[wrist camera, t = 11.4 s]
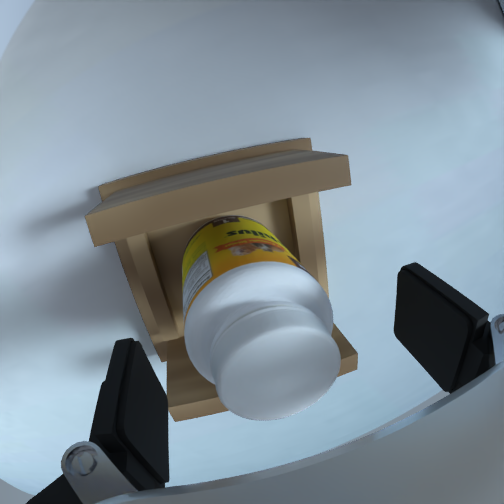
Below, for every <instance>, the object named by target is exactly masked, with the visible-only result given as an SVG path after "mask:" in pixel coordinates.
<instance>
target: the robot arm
mask: <svg viewBox="0 0 504 504" xmlns="http://www.w3.org/2000/svg"><path fill="white" fill-rule="evenodd" d="M499 3H500V5H501V8H502V10H503V13H504V0H499ZM488 316H489V314H488V313H487V312H486V311H484V310H483V309H482V308H480V307H479V306H478V305H476V304H475V303H474V302H472V301H471V300H470V299H468V298H467V297H465V296H464V295H463V294H461V293H460V292H459V291H457V290H456V289H454V288H453V287H452V286H450V285H449V284H447V283H446V282H444V281H443V280H442V279H440V278H439V277H437V276H436V275H434V274H433V273H431V272H430V271H428V270H427V269H425V268H424V267H423V266H421V265H420V264H418V263H416V262H415V263H411V264H408V265H405V266H403V267H401V270H400V272H398V277H397V295H396V310H395V321H394V334H395V336H396V338H397V339H398V340H399V341H400V342H401V343H402V344H403V346H404V347H405V348H406V349H407V350H408V351H409V352H410V353H411V354H412V355H413V357H414V358H415V359H416V360H417V361H418V362H419V363H420V364H421V365H422V367H423V368H424V369H425V370H426V371H427V372H428V373H429V374H430V376H431V377H432V378H433V379H434V380H435V381H436V382H437V384H438V385H439V386H440V387H441V388H442V389H443V390H444V391H445V392H449V393H450V395H448V396H446V397H444V398H443V399H441V400H439V401H437V402H436V403H434V404H432V405H430V406H428V407H427V408H425V409H423V410H421V411H419V412H417V413H415V414H413V415H411V416H409V417H407V418H405V419H403V420H401V421H399V422H397V423H395V424H393V425H390V426H388V427H386V428H384V429H382V430H380V431H377V432H375V433H373V434H370V435H368V436H365V437H363V438H361V439H358V440H356V441H353V442H351V443H348V444H345V445H343V446H340V447H337V448H335V449H332V450H329V451H326V452H323V453H320V454H317V455H314V456H311V457H308V458H305V459H302V460H299V461H295V462H292V463H288V464H285V465H281V466H278V467H274V468H270V469H266V470H262V471H258V472H254V473H249V474H245V475H240V476H235V477H230V478H225V479H219V480H214V481H208V482H202V483H196V484H189V485H182V486H173V487H166V488H165V483H166V482H169V451H168V399H167V395H166V393H165V391H164V389H163V388H162V386H161V384H160V382H159V380H158V378H157V376H156V374H155V372H154V370H153V368H152V366H151V364H150V362H149V360H148V358H147V356H146V354H145V352H144V350H143V348H142V345H141V344H140V342H139V341H134V339H133V338H127V339H122V340H117V341H116V342H115V345H114V349H113V352H112V356H111V360H110V364H109V368H108V371H107V375H106V380H105V381H104V382H102V385H101V388H100V392H99V396H98V401H97V405H96V409H95V414H94V418H93V423H92V428H91V433H90V438H89V442H87V441H83V442H78V443H76V444H74V445H72V446H71V447H70V448H68V449H67V450H66V452H65V453H64V455H63V457H62V460H61V468H62V471H63V474H62V475H61V476H60V477H59V478H57V479H56V480H55V481H54V482H52V483H51V484H50V485H48V486H47V487H46V488H45V489H43V490H42V491H41V492H39V493H38V494H37V495H36V496H34V497H33V498H32V499H30V500H29V501H28V502H27V503H26V504H504V314H500V315H497V316H495V317H494V318H493V319H492V321H491V323H490V322H489V321H488Z"/></svg>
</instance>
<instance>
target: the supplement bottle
mask: <svg viewBox="0 0 504 504" xmlns="http://www.w3.org/2000/svg"><path fill="white" fill-rule="evenodd" d="M182 291H183V319H184V338H185V344H186V349H187V352H188V355H189V358H190V360H191V362H192V363H193V365H194V367H195V368H196V369H197V370H198V372H199V373H200V374H201V375H202V376H203V377H204V378H206V379H207V380H208V381H210V382H211V383H213V384H215V386H216V391H217V394H218V397H219V399H220V401H221V402H222V403H223V405H224V406H225V407H226V408H227V409H228V410H229V411H231V412H232V413H234V414H236V415H238V416H241V417H243V418H247V419H251V420H261V421H266V420H276V419H281V418H285V417H289V416H292V415H294V414H297V413H299V412H301V411H303V410H305V409H307V408H308V407H310V406H312V405H313V404H314V403H316V402H317V401H318V400H319V399H320V398H322V397H323V396H324V395H325V394H326V393H327V391H328V390H329V389H330V388H331V386H332V385H333V383H334V381H335V380H336V378H337V375H338V373H339V369H340V361H341V357H340V352H339V348H338V346H337V344H336V342H335V341H334V339H333V338H332V337H331V334H332V329H333V311H332V307H331V303H330V300H329V298H328V296H327V294H326V292H325V291H324V289H323V288H322V287H321V285H320V284H319V283H318V282H317V280H316V279H315V278H314V277H313V276H312V275H311V274H310V273H309V272H308V271H307V270H306V269H305V268H304V267H303V265H302V264H301V263H300V262H299V261H298V260H297V259H296V258H295V257H294V256H293V255H292V254H291V253H290V252H289V251H288V250H287V248H286V247H285V246H284V245H283V244H282V243H281V242H280V241H279V240H278V239H277V238H276V237H275V236H274V235H273V234H272V233H271V232H270V231H269V230H268V229H267V228H266V227H265V226H264V225H262V224H261V223H260V222H258V221H256V220H254V219H252V218H249V217H245V216H240V215H227V216H221V217H217V218H214V219H212V220H210V221H208V222H206V223H205V224H203V225H202V226H201V227H199V228H198V229H197V230H196V231H195V232H194V234H193V235H192V236H191V238H190V239H189V241H188V243H187V245H186V247H185V250H184V254H183V259H182Z"/></svg>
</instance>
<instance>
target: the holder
mask: <svg viewBox="0 0 504 504" xmlns="http://www.w3.org/2000/svg"><path fill="white" fill-rule="evenodd" d="M349 185H351V177H350V168H349V160H348V155H343V154H336V153H327V152H319V151H312V145H311V139H310V138H300V139H293V140H287V141H281V142H275V143H269V144H264V145H258V146H253V147H248V148H243V149H238V150H233V151H228V152H223V153H218V154H214V155H209V156H205V157H201V158H196V159H192V160H188V161H184V162H180V163H176V164H172V165H168V166H164V167H160V168H157V169H153V170H149V171H146V172H142V173H139V174H135V175H132V176H128V177H125V178H121V179H118V180H115V181H112V182H108V183H105V184H102V185H101V186H99V187H98V188H99V191H100V195H101V199H102V203H100V204H99V205H98V206H97V207H95V208H94V209H93V210H92V211H90V212H89V213H88V214H87V215H86V216H85V219H86V222H87V225H88V228H89V232H90V235H91V238H92V241H93V244H94V247H97V246H100V245H104V244H107V243H111V242H115V245H116V248H117V251H118V254H119V257H120V260H121V263H122V266H123V269H124V271H125V274H126V277H127V280H128V282H129V285H130V288H131V290H132V293H133V296H134V298H135V301H136V303H137V306H138V309H139V311H140V314H141V316H142V318H143V321H144V323H145V326H146V328H147V330H148V333H149V335H150V337H151V340H152V342H153V344H154V347H155V349H156V351H157V353H158V356H159V358H160V360H161V362H165V361H167V399H168V411H169V412H170V414H171V416H172V417H173V419H174V421H175V422H177V421H183V420H188V419H193V418H198V417H202V416H207V415H212V414H216V413H220V412H225V411H229V410H228V409H227V408H226V407H225V406H224V405H223V403H222V402H221V401H220V399H219V397H218V394H217V391H216V386H215V384H213V383H211V382H210V381H208V380H207V379H206V378H204V377H203V376H202V375H201V374H200V373H199V372H198V370H197V369H196V368H195V367H194V365H193V363H192V362H191V360H190V358H189V355H188V352H187V349H186V344H185V338H184V319H183V291H182V259H183V254H184V250H185V247H186V245H187V243H188V241H189V239H190V238H191V236H192V235H193V234H194V232H195V231H196V230H197V229H198V228H199V227H201V226H202V225H203V224H205V223H206V222H208V221H210V220H212V219H214V218H217V217H221V216H227V215H240V216H245V217H249V218H252V219H254V220H256V221H258V222H260V223H261V224H262V225H264V226H265V227H266V228H267V229H268V230H269V231H270V232H271V233H272V234H273V235H274V236H275V237H276V238H277V239H278V240H279V241H280V242H281V243H282V244H283V245H284V246H285V247H286V248H287V250H288V251H289V252H290V253H291V254H292V255H293V256H294V257H295V258H296V259H297V260H298V261H299V262H300V263H301V264H302V265H303V267H304V268H305V269H306V270H307V271H308V272H309V273H310V274H311V275H312V276H313V277H314V278H315V279H316V280H317V282H318V283H319V284H320V285H321V287H322V288H323V289H324V291H325V292H326V294H327V296H328V298H329V292H328V280H327V268H326V257H325V247H324V237H323V228H322V219H321V210H320V202H319V194H318V192H319V191H324V190H329V189H334V188H339V187H344V186H349ZM331 337H332V338H333V339H334V341H335V342H336V344H337V346H338V348H339V352H340V357H341V361H340V369H339V373H338V375H337V377H339V376H341V375H344V374H346V373H349V372H352V371H354V370H357V363H358V353H357V352H356V350H355V349H354V348H353V347H352V345H351V344H350V343H349V342H348V340H347V339H346V338H345V337H344V335H343V334H342V333H341V332H340V330H339V329H338V328H337V327H336V325H335V324H334V323H333V329H332V334H331Z"/></svg>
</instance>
